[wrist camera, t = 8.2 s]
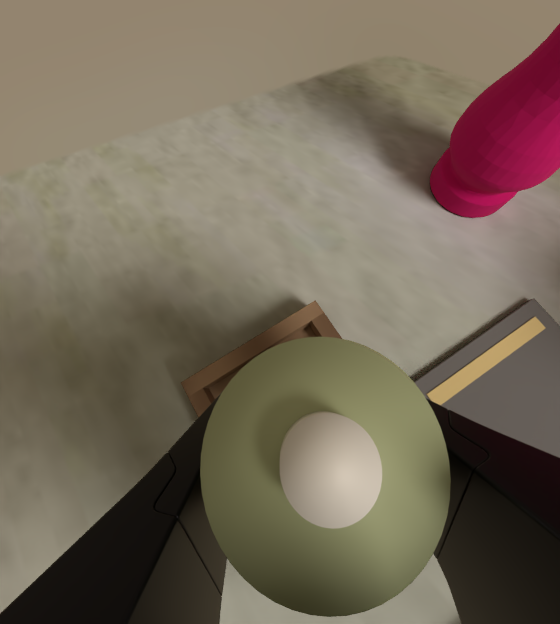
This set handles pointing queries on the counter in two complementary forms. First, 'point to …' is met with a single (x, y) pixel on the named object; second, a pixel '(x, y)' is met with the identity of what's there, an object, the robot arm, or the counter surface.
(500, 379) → the mat
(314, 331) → the tray
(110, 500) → the counter surface
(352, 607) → the green tapered post
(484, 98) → the pepper mill
